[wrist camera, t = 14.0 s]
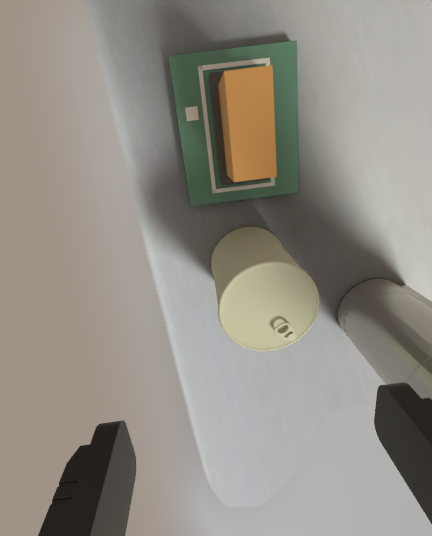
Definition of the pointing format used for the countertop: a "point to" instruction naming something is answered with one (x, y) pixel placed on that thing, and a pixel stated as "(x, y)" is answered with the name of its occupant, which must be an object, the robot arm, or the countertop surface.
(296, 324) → the can
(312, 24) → the countertop surface
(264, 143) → the block
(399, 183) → the countertop surface
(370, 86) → the countertop surface
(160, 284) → the countertop surface
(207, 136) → the header board
